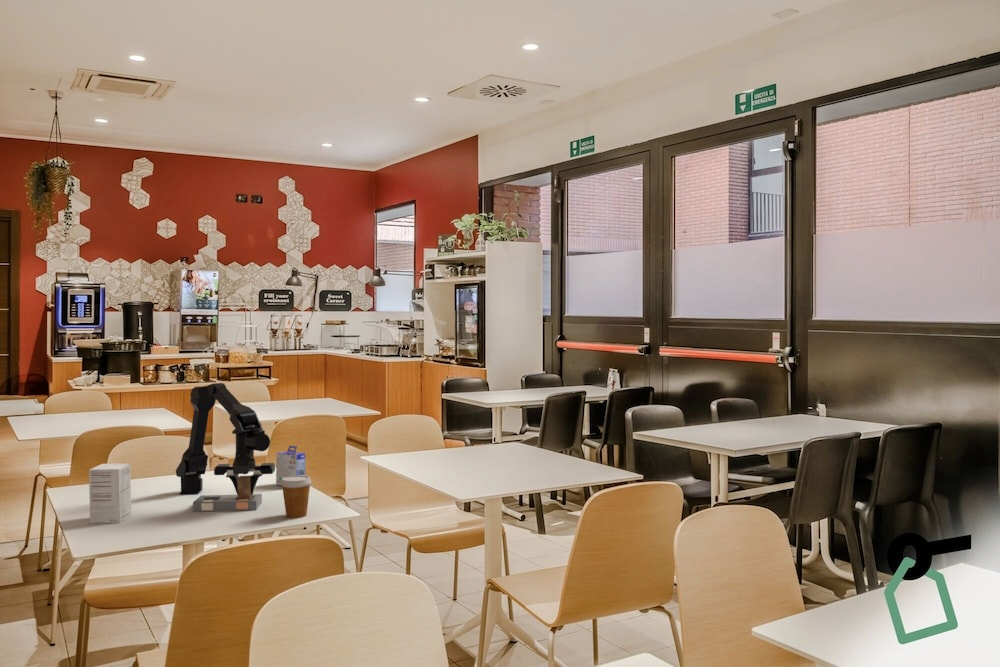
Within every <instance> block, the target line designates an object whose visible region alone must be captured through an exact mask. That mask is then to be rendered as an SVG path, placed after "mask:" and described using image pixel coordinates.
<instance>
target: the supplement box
mask: <svg viewBox="0 0 1000 667" xmlns="http://www.w3.org/2000/svg"><path fill="white" fill-rule="evenodd" d="M131 474H132V471H131V463H101V464H99V465H97V466H96V465H95V466H94V467H93V468H90V469H89V470H88V476H89V478H88V481H89V524H121V523H122V522H124V521H125V520H126V519H128V518H129V517H131V516H132V488H131V486H132V485H131Z"/></svg>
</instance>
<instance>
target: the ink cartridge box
mask: <svg viewBox="0 0 1000 667" xmlns="http://www.w3.org/2000/svg"><path fill="white" fill-rule="evenodd" d="M297 449H298V446H295V445H289V446H288V449H287V451H281V452H277V453H276V455H275V456H276V460H275V461H276V462H275V470H276V471H275V472H276V473H275V476H276V479H275V485H276V486H281V487H282V484H281V482H282V478H284V477H287V476H295V475H304V476H306V452H297Z"/></svg>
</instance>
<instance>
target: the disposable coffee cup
mask: <svg viewBox="0 0 1000 667" xmlns="http://www.w3.org/2000/svg"><path fill="white" fill-rule="evenodd" d="M281 484H282V486H281V487H282V488H281V489H282V494H283V495H282V496H283V501H284V502H283V503H284V508H285V517H286V518H289V517H290V518H289V519H291V518H292V519H299V518H298V517H300V518H303V516H304V517H306V516H308V515H307V514H308V513H307V512H308V506H309V497H310V488H311V484H312V480H311V477H310V476H309V475H305V476H304V475H295V476H287V477H284V478H282V482H281Z"/></svg>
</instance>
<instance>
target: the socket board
mask: <svg viewBox="0 0 1000 667" xmlns="http://www.w3.org/2000/svg"><path fill="white" fill-rule="evenodd" d="M262 498H263V495H262V493H253V494H252V499H238V495H237V494H209V495H206V494H204V495H203V494H202V495H199V496H198V497H197V498H196V499H195V500H194V501H192V512H223V511H224V512H225V511H227V512H229V511H233V510H234V511H257V510H258V508H260V506H261V505H262V504H263V501H262V500H263V499H262Z"/></svg>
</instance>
